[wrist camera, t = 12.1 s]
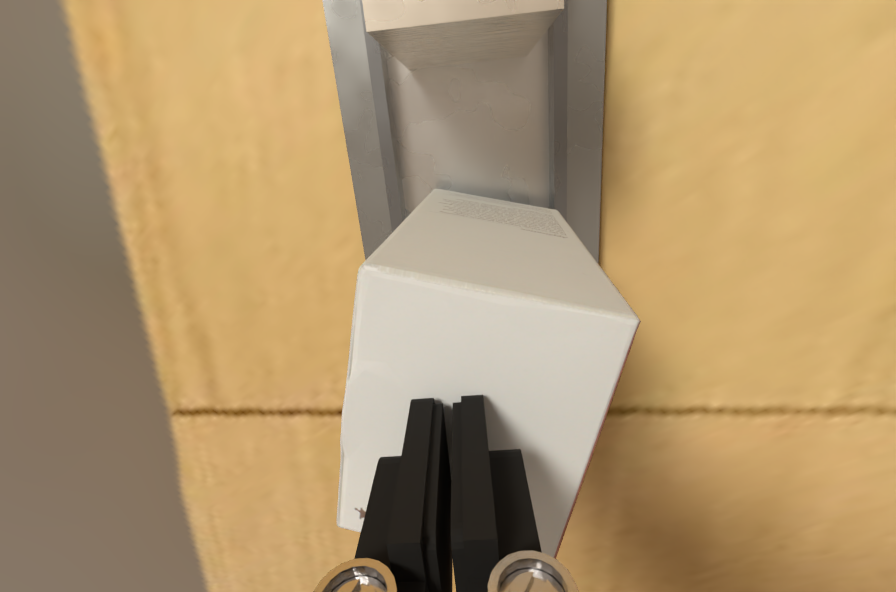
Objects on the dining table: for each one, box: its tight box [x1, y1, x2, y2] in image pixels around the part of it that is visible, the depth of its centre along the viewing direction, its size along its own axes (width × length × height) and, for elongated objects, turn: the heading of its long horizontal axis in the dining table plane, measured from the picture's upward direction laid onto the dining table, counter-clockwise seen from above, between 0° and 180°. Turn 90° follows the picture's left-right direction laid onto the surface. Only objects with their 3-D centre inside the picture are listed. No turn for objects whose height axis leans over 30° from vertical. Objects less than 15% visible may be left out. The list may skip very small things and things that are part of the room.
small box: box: [337, 189, 641, 559], centre depth 17 cm, size 8×6×13 cm
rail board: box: [323, 0, 607, 263], centre depth 19 cm, size 13×24×12 cm, turn 5°
